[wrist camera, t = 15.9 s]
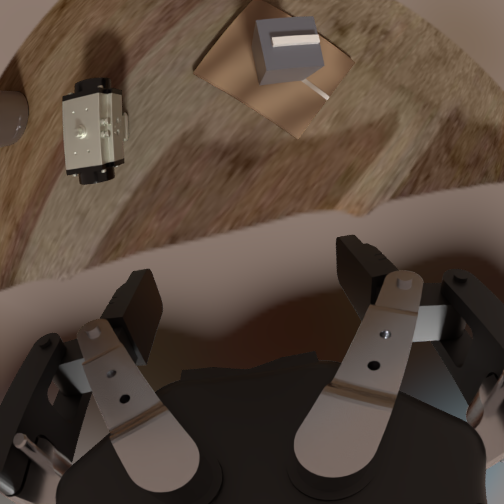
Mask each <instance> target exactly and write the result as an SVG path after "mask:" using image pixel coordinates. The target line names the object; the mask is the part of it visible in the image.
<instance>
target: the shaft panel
mask: <svg viewBox="0 0 504 504" xmlns="http://www.w3.org/2000/svg"><path fill="white" fill-rule="evenodd" d="M286 17H291V16H289V15H288V14H286V13H284V12H283V11H281V10H279V9H278V8H276V7H274V6H272V5H271V4H269V3H267V2H265V1H263V0H252V1H251V2H250V3H249V4H248V5H247V7H246V8H245V9H244V10H243V11H242V12H241V13H240V14H239V15H238V17H237V18H236V19H235V20H234V21H233V22H232V24H231V25H230V26H229V27H228V28H227V30H226V31H225V32H224V33H223V34H222V36H221V37H220V38H219V39H218V41H217V42H216V43H215V44H214V46H213V47H212V48H211V50H210V51H209V52H208V53H207V55H206V56H205V57H204V59H203V60H202V61H201V63H200V64H199V66H198V67H197V68H196V70H195V71H194V72H193V74H194V75H196V76H198V77H199V78H201V79H203V80H205V81H207V82H208V83H210V84H212V85H214V86H215V87H217V88H219V89H221V90H222V91H224V92H226V93H227V94H229V95H231V96H232V97H234V98H236V99H237V100H239V101H240V102H242V103H244V104H245V105H247V106H248V107H250V108H252V109H253V110H255V111H256V112H258V113H259V114H261V115H262V116H264V117H265V118H267V119H268V120H270V121H271V122H273V123H274V124H276V125H277V126H279V127H280V128H282V129H283V130H285V131H286V132H287V133H289V134H290V135H292V136H293V137H295V138H296V139H299V138H300V136H301V135H302V133H303V132H304V131H305V129H306V128H307V127H308V125H309V124H310V122H311V121H312V120H313V118H314V117H315V116H316V114H317V113H318V112H319V110H320V109H321V108H322V106H323V105H324V103H325V102H326V101H327V100H328V98H329V97H330V95H331V94H332V93H333V91H334V90H335V89H336V87H337V86H338V85H339V83H340V82H341V81H342V79H343V78H344V77H345V75H346V74H347V73H348V72H349V70H350V69H351V68H352V66H353V65H354V64H355V62H354V61H353V60H352V59H350V58H349V57H348V56H347V55H345V54H344V53H343V52H342V51H340V50H339V49H338V48H336V47H335V46H334V45H332V44H331V43H330V42H328V41H327V40H326V39H324V38H323V37H321V36H320V35H319V39H320V46H321V51H322V55H323V60H324V65H325V66H324V67H322V68H321V69H319V70H318V71H316V72H315V73H313V74H312V75H310V76H309V77H307V78H306V79H304V80H303V81H292V82H283V83H275V84H267V85H260V86H259V81H258V76H257V71H256V66H255V61H254V56H253V51H252V47H251V46H252V40H253V34H254V28H255V22H256V20H263V19H273V18H286Z"/></svg>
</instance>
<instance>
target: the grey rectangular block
mask: <svg viewBox="0 0 504 504" xmlns="http://www.w3.org/2000/svg"><path fill="white" fill-rule="evenodd" d="M251 47H252V51H253V56H254V61H255V66H256V71H257V76H258V81H259V86H260V85H267V84H275V83H283V82H292V81H303V80H304V79H306V78H307V77H309V76H310V75H312V74H313V73H315V72H316V71H318V70H319V69H321V68H322V67H324V66H325V65H324V60H323V55H322V51H321V46H320V39H319V35H318V33H317V29H316V25H315V21H314V17H313V16H310V17H286V18H273V19H263V20H256V22H255V28H254V34H253V40H252V46H251Z"/></svg>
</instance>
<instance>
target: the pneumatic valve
mask: <svg viewBox="0 0 504 504" xmlns="http://www.w3.org/2000/svg"><path fill="white" fill-rule="evenodd" d="M63 136H64V151H65V162H66V172H67V175H73V177H74V176H77V174H79V182H80V184H82V185H86V184H94V183H99V182H104V181H108V180H111V179H113V178H114V177H115V172H114V167H119V165H121V164H123V163H124V149H123V141H128V138H129V126H128V116H127V113H126V112H124V113H123V114H122V90H118V89H114V88H111V79H110V78H92V79H86V80H83V81H80V82H77V83H76V84H75V90H74V93H69V94H68V95H66V96H63Z"/></svg>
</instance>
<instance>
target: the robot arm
mask: <svg viewBox="0 0 504 504" xmlns="http://www.w3.org/2000/svg"><path fill="white" fill-rule="evenodd" d="M27 120H28V104H27V100H26V98H25V96H24V95H23V94H22V93H20V92H18V91H0V147H4V146H8V145H11V144H14V143H15V142H17V141H18V139H19V138H20V137H21V136H22V134H23V132H24V130H25V128H26V124H27ZM336 257H337V258H336V260H337V276H338V280H339V283H340V285H341V287H342V288H343V290H344V292H345V293H346V295H347V297H348V299H349V300H350V302H351V304H352V305H353V307H354V309H355V310H356V312H357V314H358V315H359V317H360V319H361V321H362V323H361V325H360V327H359V329H358V331H357V333H356V335H355V338H354V340H353V342H352V344H351V346H350V348H349V350H348V352H347V354H346V356H345V358H344V360H343V362H342V363H339V362H335V361H325V360H318V358H317V355H316V352H315V351H313V352H308V353H303V354H298V355H292V356H287V357H282V358H279V359H276V360H274V361H271V362H269V363H265V364H263V365H260V366H257V367H254V368H251V369H231V368H217V367H212V368H211V367H210V368H201V369H190V370H182V374H181V380H179V381H175V382H173V383H170V384H168V385H166V386H164V387H162V388H161V389H159V390H157V391H156V392H154V391H153V390H152V388H151V387H150V385H149V384H148V382H147V381H146V380H145V378H144V377H143V375H142V374H141V372H140V371H139V369H138V368H137V366H136V365H147V361H148V358H149V355H150V351H151V348H152V345H153V341H154V338H155V335H156V332H157V328H158V325H159V322H160V319H161V316H162V312H163V304H162V300H161V297H160V294H159V291H158V288H157V285H156V283H155V280H154V277H153V274H152V272H151V270H150V269H144V270H138V271H133V272H132V273H131V275H130V277H129V279H128V280H127V282H126V283H125V284H123V285H122V286H121V287H120V288H118V289H117V290H116V292H115V294H114V295H113V297H112V299H111V300H110V302H109V304H108V305H107V307H106V309H105V310H104V312H103V314H102V316H101V317H100V319H96V320H93V321H90V322H88V323H86V324H85V325H84V326H82V327H81V329H80V330H79V331H78V333H77V339H75V340H71V341H68V342H65V343H63V342H62V340H61V338H60V336H59V335H58V334H57V333H50V334H47V335H45V336H43V337H41V338H40V339H39V340H37V342H36V343H35V344H34V346H33V347H32V349H31V350H30V352H29V354H28V356H27V357H26V359H25V361H24V362H23V364H22V366H21V368H20V369H19V371H18V373H17V374H16V377H15V378H14V380H13V382H12V384H11V386H10V387H9V389H8V391H7V393H6V395H5V397H4V399H3V401H2V403H1V405H0V493H1V494H2V495H4V496H5V497H7V498H8V499H10V500H12V501H13V502H15V503H16V504H487V499H486V489H485V474H486V469H488V468H489V467H491V466H493V465H494V464H496V463H497V462H499V461H500V462H504V304H503V303H502V302H501V301H500V300H499V299H498V298H497V297H496V296H495V295H494V294H493V293H492V292H491V291H490V290H489V289H488V288H487V287H486V286H485V285H484V284H482V283H481V282H480V281H479V280H478V279H477V278H476V277H475V276H474V275H473V274H471V273H470V272H467V271H465V270H461V269H451V270H448V271H446V272H445V273H444V274H443V279H442V283H423V280H422V278H421V277H420V276H419V275H418V274H416V273H414V272H411V271H404V270H400V271H399V270H398V269H397V268H396V267H395V266H394V265H393V264H392V263H391V262H390V261H389V260H388V259H387V258H386V257H385V256H384V255H383V254H382V253H381V252H380V251H379V250H378V249H377V248H376V247H374V246H372V245H369V244H363V243H362V242H361V241H360V240H359V239H358V238H357V237H356V236H355V235H347V236H341V237H337V239H336ZM466 323H467V324H468V325H469V326H470V328H471V330H472V333H473V339H472V338H471V337H470V335H469V334H468V333H467V331H466V330H465V329H464V328H465V325H466ZM415 341H431V343H432V344H433V346H434V347H435V349H436V351H437V352H438V354H439V356H440V357H441V359H442V360H443V362H444V364H445V365H446V367H447V369H448V370H449V372H450V374H451V375H452V377H453V378H454V380H455V382H456V384H457V385H458V387H459V389H460V391H461V393H462V394H463V396H464V398H465V400H466V401H467V404H468V405H469V406H468V408H467V412H466V420H467V422H465V421H463V420H462V419H460V418H457V417H455V416H453V415H450V414H448V413H446V412H444V411H442V410H439V409H437V408H435V407H433V406H431V405H429V404H427V403H424V402H422V401H420V400H418V399H416V398H414V397H412V396H410V395H408V394H406V393H404V392H402V391H400V390H399V388H400V385H401V381H402V378H403V375H404V371H405V368H406V364H407V360H408V356H409V352H410V348H411V344H412V342H415ZM52 381H53V382H54V383H55V385H56V386H57V387H58V388H59V392H58V394H57V397H56V399H55V402H54V405H53V406H52V405H51V404H50V402H49V400H48V396H47V392H48V388H49V386H50V384H51V382H52ZM92 393H93V395H94V398H95V400H96V403H97V405H98V407H99V410H100V412H101V414H102V416H103V418H104V421H105V423H106V425H107V427H108V429H109V432H110V433H109V434H108V435H106V436H105V437H104V438H103V439H102V440H101V441H100V442H99V443H97V444H96V445H95V446H94V447H93V448H92V449H91V450H89V451H88V452H87V453H86V454H85V455H84V456H82V457H81V458H80V459H79V460H78V461H77V462H76V463H74V464H73V465H72V461H73V457H74V453H75V449H76V445H77V441H78V437H79V434H80V430H81V427H82V423H83V420H84V417H85V413H86V410H87V407H88V403H89V400H90V397H91V394H92Z"/></svg>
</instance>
